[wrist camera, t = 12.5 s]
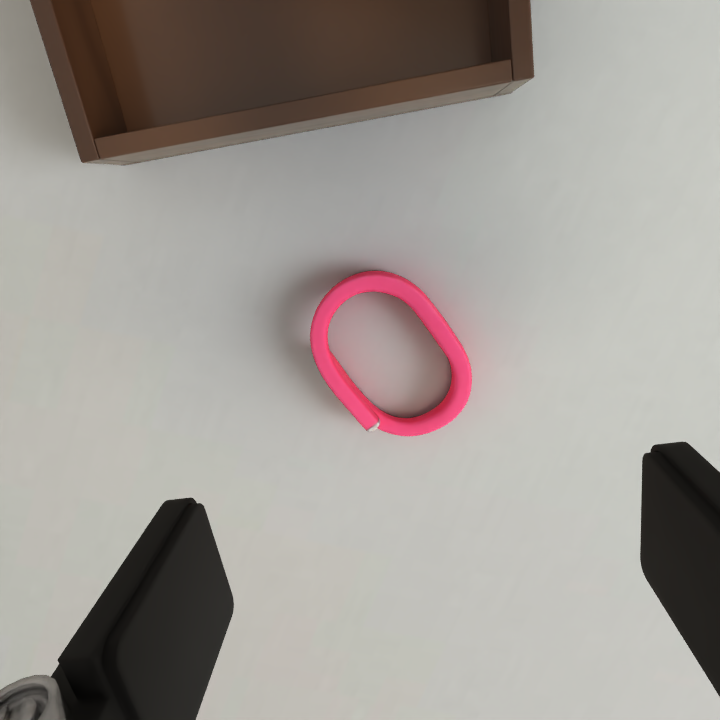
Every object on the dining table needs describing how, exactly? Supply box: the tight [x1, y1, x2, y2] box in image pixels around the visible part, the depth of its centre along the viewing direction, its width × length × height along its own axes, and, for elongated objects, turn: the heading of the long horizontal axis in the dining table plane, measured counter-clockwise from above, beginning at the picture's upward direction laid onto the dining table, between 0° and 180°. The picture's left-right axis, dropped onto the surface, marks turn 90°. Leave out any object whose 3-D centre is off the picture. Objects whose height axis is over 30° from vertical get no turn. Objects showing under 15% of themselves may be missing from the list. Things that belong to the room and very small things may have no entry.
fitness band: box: [310, 271, 472, 436], centre depth 23 cm, size 8×6×2 cm
